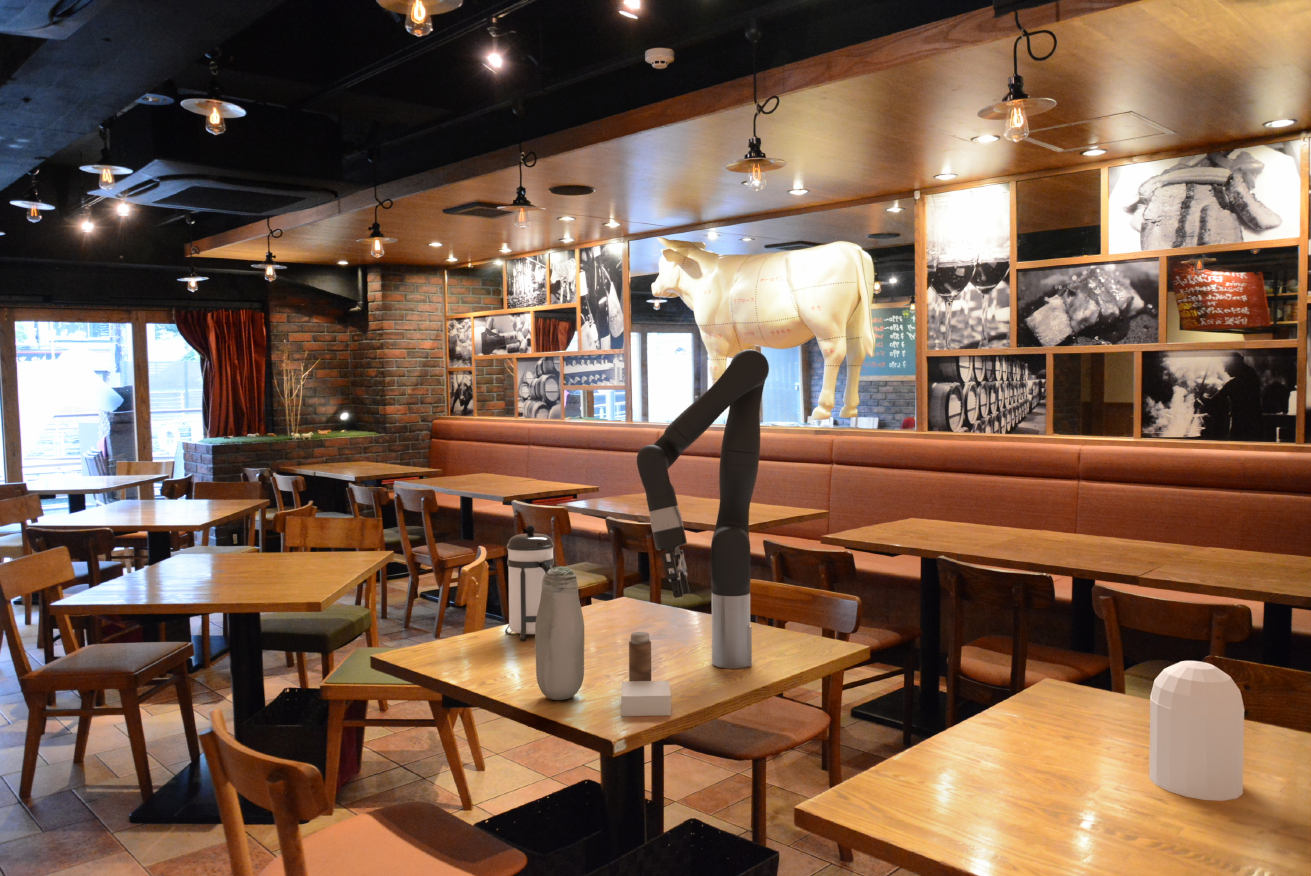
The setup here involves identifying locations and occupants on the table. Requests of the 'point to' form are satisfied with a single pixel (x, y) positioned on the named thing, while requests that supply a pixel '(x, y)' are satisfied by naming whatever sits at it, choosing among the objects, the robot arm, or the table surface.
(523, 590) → the coffee press
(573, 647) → the grey vase
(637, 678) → the pepper mill
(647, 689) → the riser block
